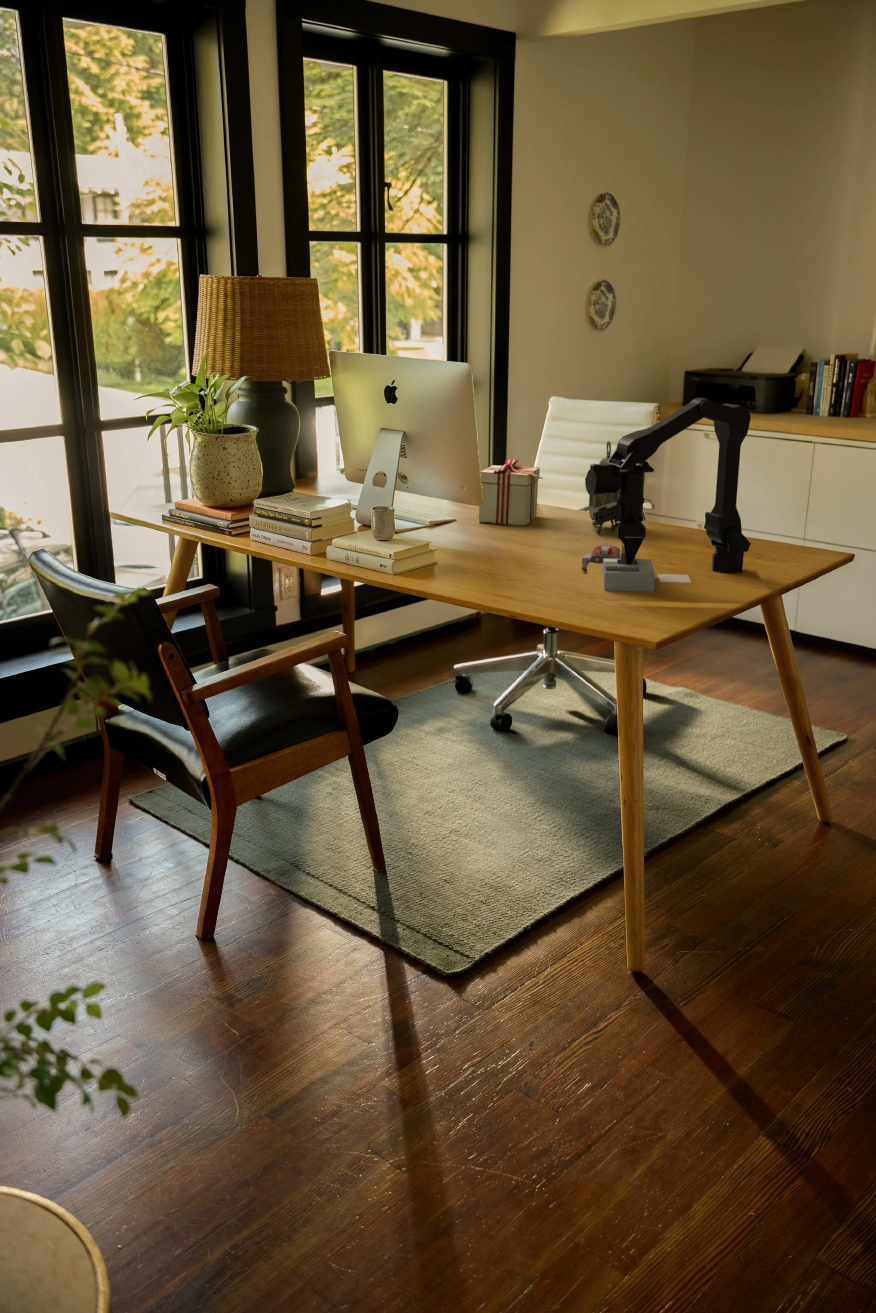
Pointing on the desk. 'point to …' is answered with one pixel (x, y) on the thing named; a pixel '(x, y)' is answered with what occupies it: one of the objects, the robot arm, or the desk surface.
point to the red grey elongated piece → (600, 554)
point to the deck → (673, 578)
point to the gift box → (509, 494)
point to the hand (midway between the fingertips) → (627, 559)
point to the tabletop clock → (602, 497)
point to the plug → (623, 558)
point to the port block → (628, 575)
